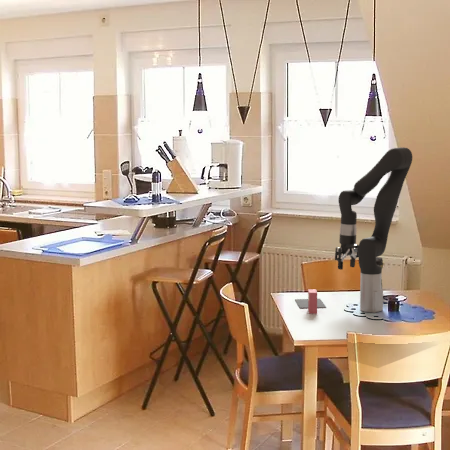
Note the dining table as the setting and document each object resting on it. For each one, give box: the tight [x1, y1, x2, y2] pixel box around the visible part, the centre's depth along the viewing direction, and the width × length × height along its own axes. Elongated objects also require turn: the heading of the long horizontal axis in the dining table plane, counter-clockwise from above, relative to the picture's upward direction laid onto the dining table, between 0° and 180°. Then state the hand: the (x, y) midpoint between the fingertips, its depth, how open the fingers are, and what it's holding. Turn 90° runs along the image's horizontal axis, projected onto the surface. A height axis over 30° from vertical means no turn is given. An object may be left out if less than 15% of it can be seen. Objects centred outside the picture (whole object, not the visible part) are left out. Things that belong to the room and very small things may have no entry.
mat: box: [294, 298, 327, 309], centre depth 358 cm, size 16×12×1 cm
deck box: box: [307, 288, 318, 315], centre depth 343 cm, size 6×4×10 cm, turn 178°
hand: (346, 268), depth 352 cm, fingers open, 8 cm apart
